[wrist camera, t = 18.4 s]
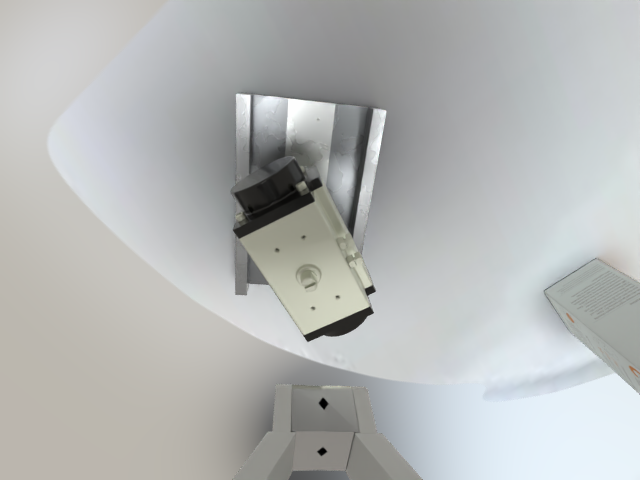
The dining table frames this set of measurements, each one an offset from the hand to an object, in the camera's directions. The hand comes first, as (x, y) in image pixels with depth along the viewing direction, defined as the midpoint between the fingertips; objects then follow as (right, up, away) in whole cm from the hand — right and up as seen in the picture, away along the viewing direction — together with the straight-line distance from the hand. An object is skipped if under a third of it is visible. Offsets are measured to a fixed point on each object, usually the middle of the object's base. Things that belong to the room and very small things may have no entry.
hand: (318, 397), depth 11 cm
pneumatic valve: (-1, +8, +18) cm, 20 cm away
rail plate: (-2, +9, +19) cm, 22 cm away
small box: (+29, -1, +27) cm, 40 cm away
